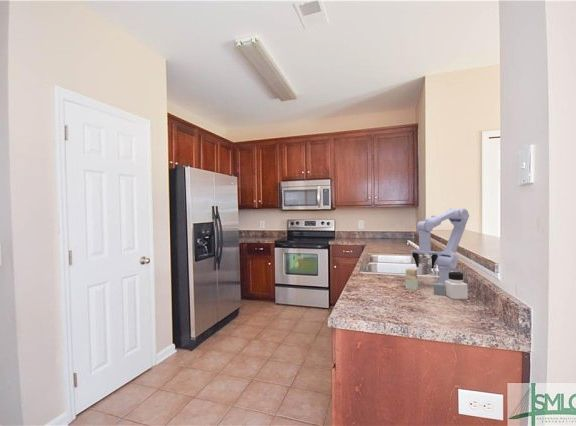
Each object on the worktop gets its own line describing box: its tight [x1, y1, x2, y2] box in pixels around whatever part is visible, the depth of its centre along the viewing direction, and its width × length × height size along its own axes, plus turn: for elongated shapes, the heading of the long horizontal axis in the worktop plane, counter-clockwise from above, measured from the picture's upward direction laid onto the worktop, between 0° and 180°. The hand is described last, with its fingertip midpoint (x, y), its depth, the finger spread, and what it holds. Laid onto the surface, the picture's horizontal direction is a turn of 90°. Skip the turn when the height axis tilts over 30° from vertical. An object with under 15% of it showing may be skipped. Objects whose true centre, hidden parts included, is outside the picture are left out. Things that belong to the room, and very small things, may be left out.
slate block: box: [433, 282, 446, 296], centre depth 140 cm, size 4×4×5 cm
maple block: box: [405, 268, 418, 280], centre depth 151 cm, size 4×4×5 cm
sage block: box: [405, 278, 419, 291], centre depth 151 cm, size 5×5×5 cm
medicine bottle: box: [445, 270, 469, 300], centre depth 134 cm, size 7×7×12 cm
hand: (425, 267), depth 154 cm, fingers open, 7 cm apart
